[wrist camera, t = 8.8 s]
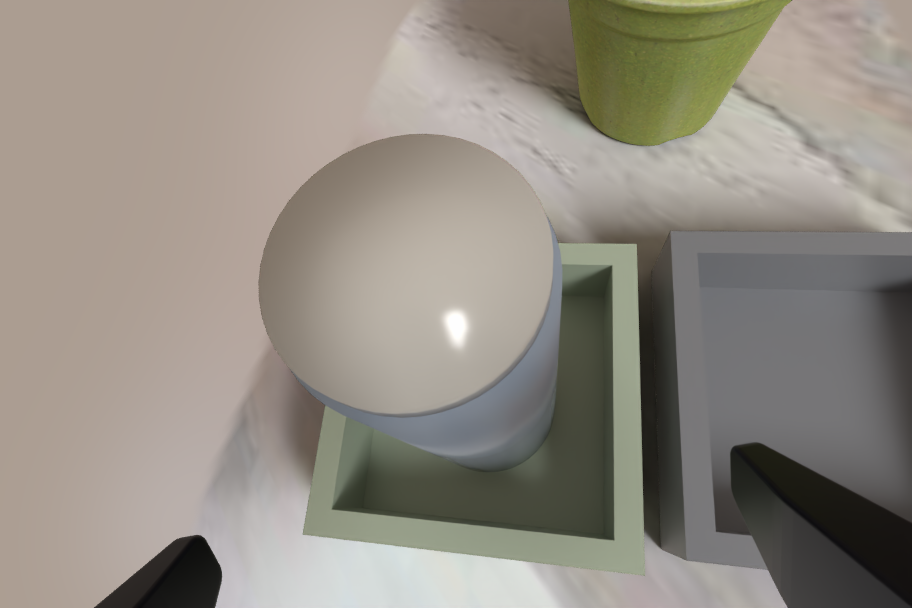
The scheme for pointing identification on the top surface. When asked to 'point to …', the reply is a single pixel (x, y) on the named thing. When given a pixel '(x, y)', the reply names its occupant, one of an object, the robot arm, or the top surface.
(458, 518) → the sage bin
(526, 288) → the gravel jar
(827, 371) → the charcoal bin
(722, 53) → the plant pot
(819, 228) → the top surface
